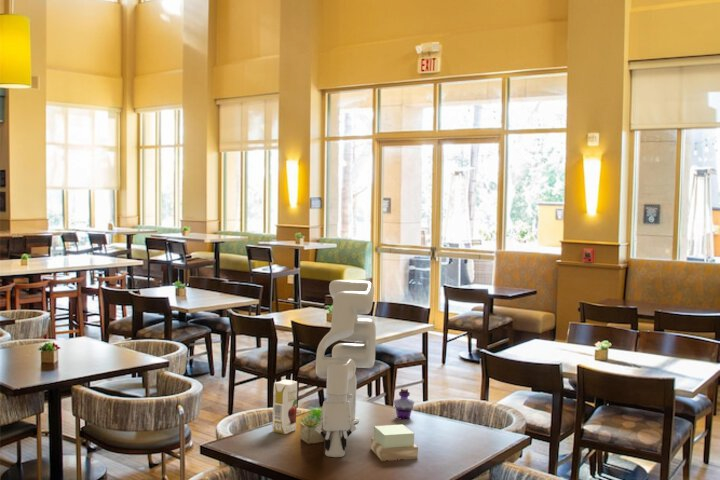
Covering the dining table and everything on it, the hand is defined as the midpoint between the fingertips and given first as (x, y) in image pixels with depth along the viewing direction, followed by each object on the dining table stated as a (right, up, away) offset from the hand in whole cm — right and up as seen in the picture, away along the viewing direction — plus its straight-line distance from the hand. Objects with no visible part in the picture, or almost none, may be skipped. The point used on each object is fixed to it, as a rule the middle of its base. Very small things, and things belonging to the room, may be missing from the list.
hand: (335, 449), depth 256 cm
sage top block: (+20, +1, +4) cm, 21 cm away
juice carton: (-21, 0, +26) cm, 33 cm away
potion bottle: (+27, -1, +50) cm, 57 cm away
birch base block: (+21, -3, +4) cm, 21 cm away
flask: (0, -2, 0) cm, 2 cm away
